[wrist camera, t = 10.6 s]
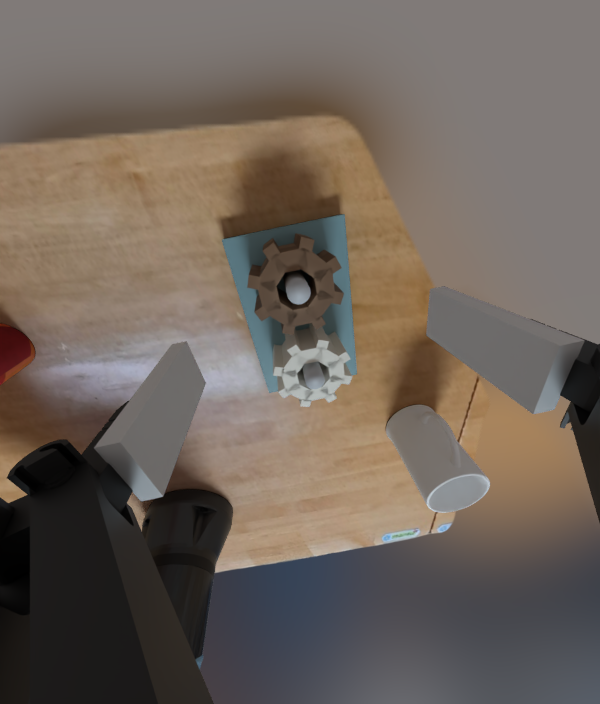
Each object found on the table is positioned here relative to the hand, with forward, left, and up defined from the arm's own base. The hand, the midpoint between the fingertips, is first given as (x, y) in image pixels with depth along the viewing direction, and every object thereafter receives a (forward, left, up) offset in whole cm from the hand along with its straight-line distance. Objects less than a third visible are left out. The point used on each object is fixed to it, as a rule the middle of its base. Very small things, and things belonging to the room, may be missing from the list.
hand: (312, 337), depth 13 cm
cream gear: (0, -9, -14) cm, 17 cm away
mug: (+15, -26, -16) cm, 34 cm away
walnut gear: (0, 0, -15) cm, 15 cm away
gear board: (0, -5, -16) cm, 17 cm away
